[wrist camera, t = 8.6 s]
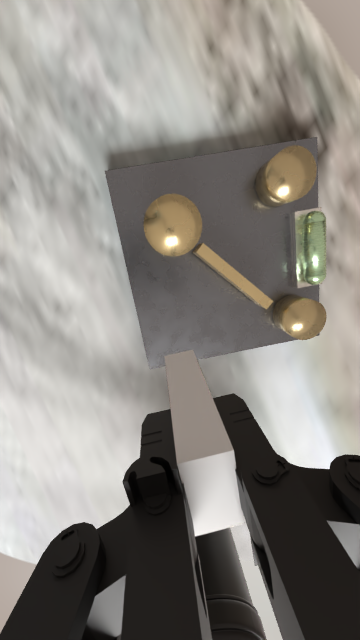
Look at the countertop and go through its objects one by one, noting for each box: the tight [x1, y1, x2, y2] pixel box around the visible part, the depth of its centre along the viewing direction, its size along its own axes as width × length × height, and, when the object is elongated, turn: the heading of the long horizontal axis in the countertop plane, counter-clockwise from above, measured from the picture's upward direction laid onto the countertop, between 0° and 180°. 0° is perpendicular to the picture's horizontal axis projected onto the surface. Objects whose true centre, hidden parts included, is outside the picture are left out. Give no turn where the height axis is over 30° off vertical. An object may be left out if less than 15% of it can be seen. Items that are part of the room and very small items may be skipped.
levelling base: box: [105, 137, 326, 369], centre depth 30 cm, size 24×24×6 cm
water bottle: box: [195, 528, 267, 640], centre depth 30 cm, size 10×10×23 cm
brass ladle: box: [144, 194, 273, 310], centre depth 28 cm, size 17×6×4 cm, turn 52°
